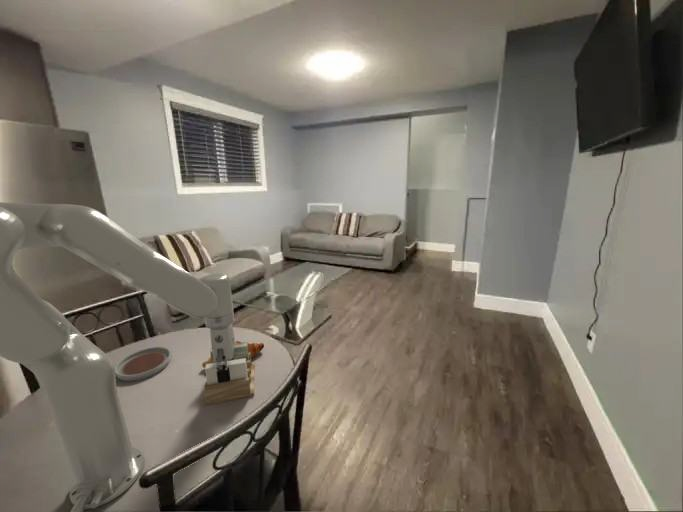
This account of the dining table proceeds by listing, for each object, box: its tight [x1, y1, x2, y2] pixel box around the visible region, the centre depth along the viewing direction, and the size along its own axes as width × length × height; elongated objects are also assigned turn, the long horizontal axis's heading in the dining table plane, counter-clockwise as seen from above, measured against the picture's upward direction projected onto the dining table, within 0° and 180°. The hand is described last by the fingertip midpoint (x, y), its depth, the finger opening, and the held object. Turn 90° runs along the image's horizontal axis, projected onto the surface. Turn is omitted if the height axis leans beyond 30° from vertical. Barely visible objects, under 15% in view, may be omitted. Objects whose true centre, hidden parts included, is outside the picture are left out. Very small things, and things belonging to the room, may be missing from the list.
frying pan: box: [114, 346, 173, 382], centre depth 96 cm, size 17×3×28 cm
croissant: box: [201, 340, 265, 369], centre depth 101 cm, size 21×10×8 cm, turn 123°
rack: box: [202, 341, 256, 406], centre depth 89 cm, size 15×14×10 cm
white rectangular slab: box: [204, 358, 248, 385], centre depth 85 cm, size 2×11×10 cm, turn 105°
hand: (226, 370), depth 84 cm, fingers open, 9 cm apart
